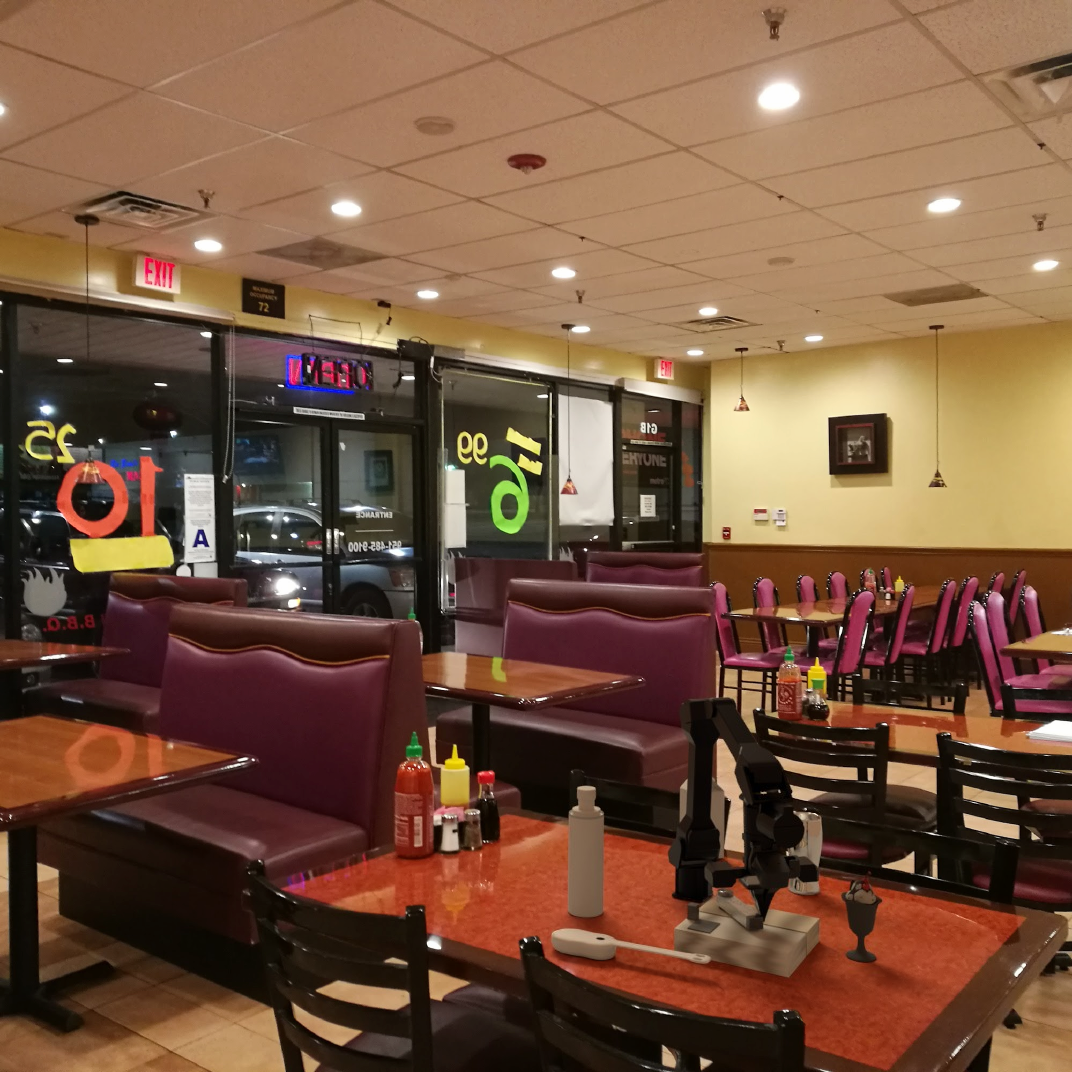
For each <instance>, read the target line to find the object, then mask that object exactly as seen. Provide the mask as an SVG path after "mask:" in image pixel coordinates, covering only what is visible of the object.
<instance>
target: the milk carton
mask: <svg viewBox="0 0 1072 1072" xmlns="http://www.w3.org/2000/svg"><path fill="white" fill-rule="evenodd" d="M686 803H687V779H685V781H684V782H683V783H682V784H681V786H680V787H679V823H680V822H681V820H682V819H683V817H684V816H685V814H686ZM711 819H712V821H713V823H714V825H715V827H716V828H717V829H718V830H719V832H720V838H719V841H720V845H721V847H720V852H719V858H718V860H719V859H724V858H725V857H724V856H725V790H724V789H723V788H722V787H721V786H720V785H719V784H718V783H717V782H716V778H714V777H713V776H712V798H711Z"/></svg>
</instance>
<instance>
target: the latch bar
mask: <svg viewBox="0 0 1072 1072" xmlns="http://www.w3.org/2000/svg"><path fill="white" fill-rule="evenodd" d="M716 898H717V905H718V906H720V907H721V908H722V909H723V910H725V911H726V912H727V913H728V914H730V915H731V916H732V917H734V918H735V919H736V920H737V921H739V922H740V923H741V924H742V925H744V926H745V927H746V928H747V929H748V930H759V929H763V916H761V915H759V914H758V913H757V912H755V911H754V910H753V909H751V908H750V907H749V906H747V905H746V904H747V903H745V902H743V900H741V899H740V898H738V897H737V896H735V895H734V890H733V889H730V888H717V893H716Z"/></svg>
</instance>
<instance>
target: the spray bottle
mask: <svg viewBox="0 0 1072 1072" xmlns="http://www.w3.org/2000/svg"><path fill="white" fill-rule="evenodd" d="M576 791H577V792H576V799H577V800H578V801H577V802H578V805H576V806H572V809H571V810H569V811H568V844H567V845H568V846H567V847H568V850H567V851H568V857H567V858H568V859H567V861H568V862H567V863H568V864H567V865H568V868H567V870H568V871H567V875H568V876H567V911H568V913H569V914H570V915H572V916H573V917H574V916H575V917H578V918H594V917H598V916H601V915H602V914H603V912H604V863H605V862H604V861H605V860H604V859H605V858H604V855H605V853H604V852H605V851H604V850H605V849H604V847H605V846H604V844H605V843H604V841H605V839H604V838H605V837H604V834H605V827H604V825H605V823H604V822H605V819H604V818H605V815H604V814H605V813H604V811H603V810H601V808H600V807H599V806H595V800H596V798H597V789H596V787H594V786H591V785H582V786H577V788H576Z"/></svg>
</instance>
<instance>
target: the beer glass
mask: <svg viewBox="0 0 1072 1072" xmlns="http://www.w3.org/2000/svg"><path fill="white" fill-rule="evenodd" d="M794 814H795V815H797V816H798V817H799V818H800V819H801V820H802V822H803V825H804V827H805V832H804V836H803V839H802V840H801V842H800V843H799V844H798V845H797V846H795V847H793V848H789V849H787V853H788V856H790V855H797V856H798V857H800V856H806V857H807V858H808V859H809V860H811V861H812V862H813V863H814V864H815V865H816V866H817V867H818V868H819V864H820V859H821V853H822V847H823V826H822V816H821V815H819V814H817V813H813V812H806V811H795V812H794ZM788 890H789V891H790V892H791V893H793V894H796V895H800V896H801V895H802V896H814V895H817V894H819V893H820V885H819V881H818V882H806V883H803V882H801V881H800V880H799V879H798V878H796V879H789V885H788Z"/></svg>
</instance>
